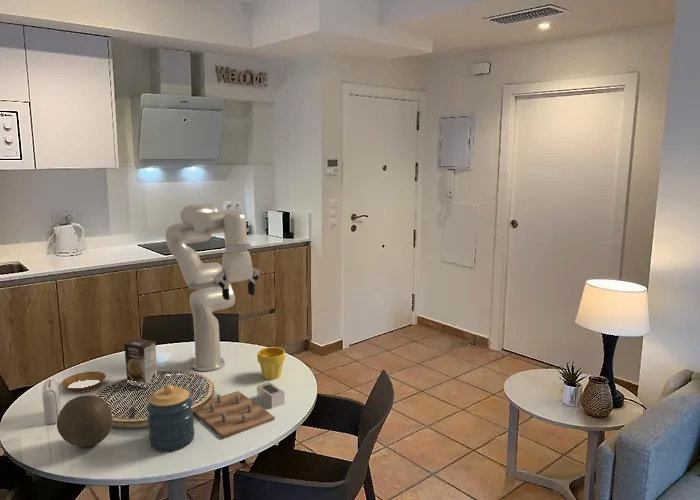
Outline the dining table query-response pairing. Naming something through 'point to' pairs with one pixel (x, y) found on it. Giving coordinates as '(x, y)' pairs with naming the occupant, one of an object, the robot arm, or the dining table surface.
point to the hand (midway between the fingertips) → (239, 296)
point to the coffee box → (140, 360)
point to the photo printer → (51, 401)
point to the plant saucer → (83, 377)
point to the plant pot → (271, 362)
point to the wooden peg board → (233, 414)
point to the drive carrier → (270, 395)
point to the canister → (170, 419)
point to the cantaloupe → (85, 421)
